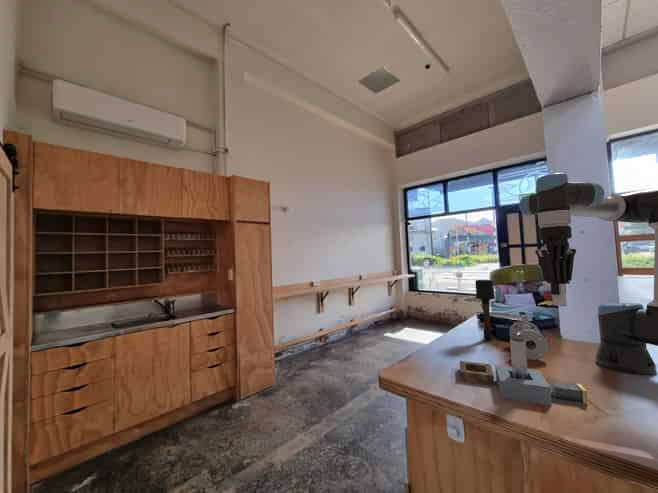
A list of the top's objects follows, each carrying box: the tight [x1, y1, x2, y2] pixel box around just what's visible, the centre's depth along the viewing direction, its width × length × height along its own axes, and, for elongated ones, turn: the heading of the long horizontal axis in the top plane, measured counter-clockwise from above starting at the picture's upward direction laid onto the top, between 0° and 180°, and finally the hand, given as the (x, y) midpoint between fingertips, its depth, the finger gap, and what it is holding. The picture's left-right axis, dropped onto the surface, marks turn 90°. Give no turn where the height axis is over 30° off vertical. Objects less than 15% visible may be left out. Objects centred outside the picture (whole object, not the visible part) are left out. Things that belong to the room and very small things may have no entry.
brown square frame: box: [459, 360, 495, 386], centre depth 95 cm, size 10×10×4 cm
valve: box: [508, 311, 550, 361], centre depth 120 cm, size 22×12×15 cm, turn 151°
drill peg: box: [509, 332, 529, 380], centre depth 84 cm, size 4×4×18 cm
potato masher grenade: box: [475, 279, 496, 342], centre depth 137 cm, size 8×9×30 cm
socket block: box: [495, 365, 585, 407], centre depth 82 cm, size 20×12×6 cm, turn 65°
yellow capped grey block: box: [551, 382, 588, 406], centre depth 79 cm, size 7×4×4 cm, turn 65°
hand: (559, 305), depth 80 cm, fingers closed
